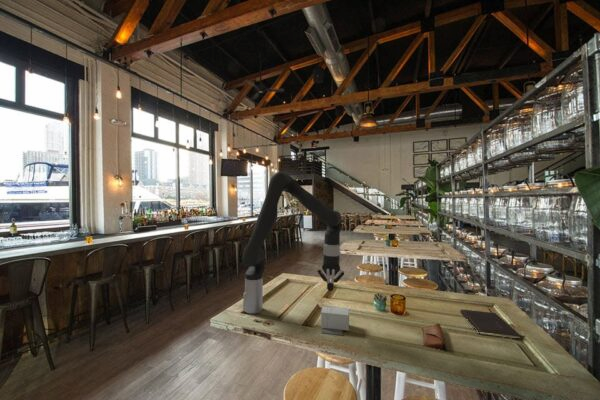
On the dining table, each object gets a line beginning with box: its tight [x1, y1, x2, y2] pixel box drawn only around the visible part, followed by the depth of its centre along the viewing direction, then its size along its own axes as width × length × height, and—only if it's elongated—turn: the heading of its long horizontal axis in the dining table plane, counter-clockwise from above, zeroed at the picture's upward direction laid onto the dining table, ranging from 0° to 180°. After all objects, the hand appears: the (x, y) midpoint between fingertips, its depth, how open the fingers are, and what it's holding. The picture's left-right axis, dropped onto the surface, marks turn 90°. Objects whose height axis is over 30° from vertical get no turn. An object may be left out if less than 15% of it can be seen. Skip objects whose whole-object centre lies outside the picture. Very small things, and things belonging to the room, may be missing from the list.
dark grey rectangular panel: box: [321, 328, 344, 336], centre depth 121 cm, size 9×15×1 cm, turn 169°
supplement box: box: [320, 305, 350, 331], centre depth 120 cm, size 7×7×13 cm
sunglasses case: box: [421, 322, 447, 352], centre depth 112 cm, size 18×7×7 cm
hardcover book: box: [459, 309, 521, 338], centre depth 125 cm, size 16×23×2 cm
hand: (330, 290), depth 121 cm, fingers closed
